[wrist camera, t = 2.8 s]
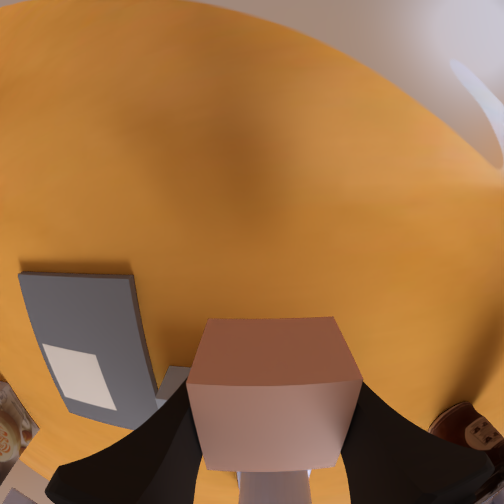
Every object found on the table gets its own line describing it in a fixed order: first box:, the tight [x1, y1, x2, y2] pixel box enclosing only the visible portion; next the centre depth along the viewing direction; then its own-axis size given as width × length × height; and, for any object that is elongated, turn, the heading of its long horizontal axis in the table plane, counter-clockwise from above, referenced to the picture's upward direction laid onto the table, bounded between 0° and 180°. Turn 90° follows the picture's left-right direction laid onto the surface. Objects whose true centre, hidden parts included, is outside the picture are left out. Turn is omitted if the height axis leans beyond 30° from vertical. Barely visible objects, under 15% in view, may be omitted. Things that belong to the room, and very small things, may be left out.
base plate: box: [18, 271, 158, 430], centre depth 20 cm, size 16×12×1 cm
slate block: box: [155, 366, 191, 409], centre depth 19 cm, size 5×5×4 cm
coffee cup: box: [428, 402, 504, 504], centre depth 15 cm, size 9×8×13 cm
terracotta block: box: [186, 317, 363, 472], centre depth 10 cm, size 5×5×4 cm
